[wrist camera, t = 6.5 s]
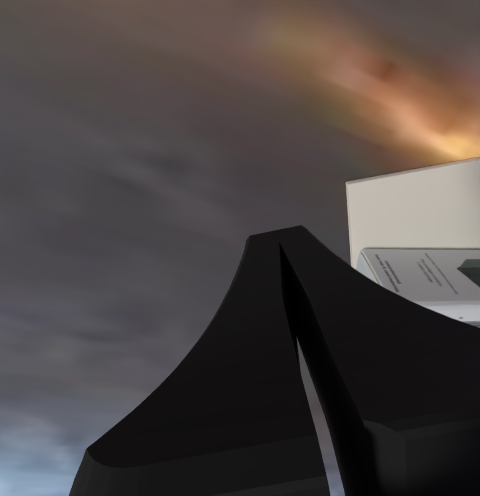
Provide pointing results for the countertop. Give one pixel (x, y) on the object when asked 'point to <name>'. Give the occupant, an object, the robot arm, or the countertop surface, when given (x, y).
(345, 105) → the countertop surface
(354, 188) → the topple mat
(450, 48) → the countertop surface
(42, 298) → the countertop surface
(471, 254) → the ink box
